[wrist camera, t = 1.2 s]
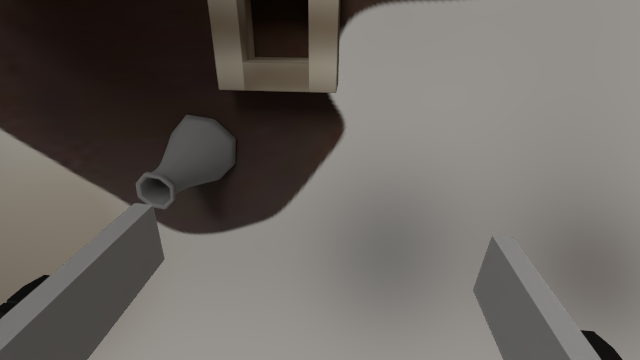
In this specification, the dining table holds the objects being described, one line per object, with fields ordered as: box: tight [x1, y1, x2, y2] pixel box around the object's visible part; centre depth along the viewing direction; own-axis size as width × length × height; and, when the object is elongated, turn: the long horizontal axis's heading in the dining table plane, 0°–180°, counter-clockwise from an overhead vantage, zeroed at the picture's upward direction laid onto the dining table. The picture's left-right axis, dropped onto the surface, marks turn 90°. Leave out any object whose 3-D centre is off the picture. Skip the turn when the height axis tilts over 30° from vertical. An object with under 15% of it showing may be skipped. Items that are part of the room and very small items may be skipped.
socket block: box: [208, 0, 341, 93], centre depth 27 cm, size 10×10×4 cm
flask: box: [136, 115, 236, 210], centre depth 31 cm, size 7×7×10 cm
